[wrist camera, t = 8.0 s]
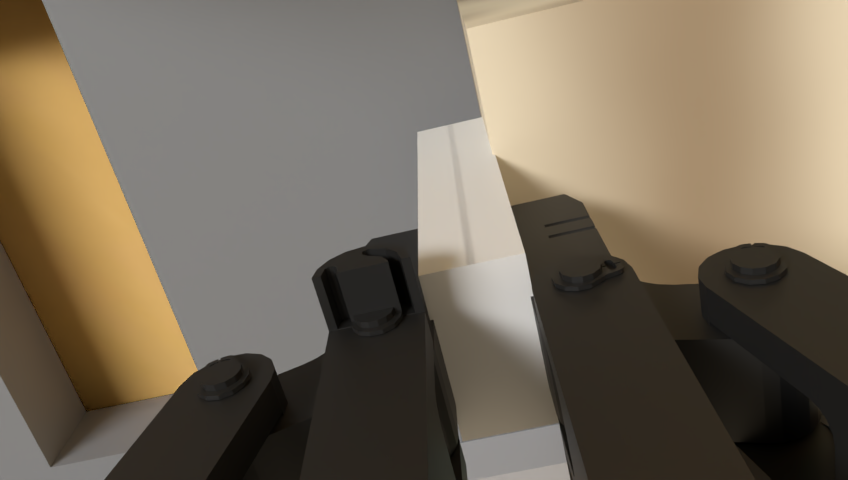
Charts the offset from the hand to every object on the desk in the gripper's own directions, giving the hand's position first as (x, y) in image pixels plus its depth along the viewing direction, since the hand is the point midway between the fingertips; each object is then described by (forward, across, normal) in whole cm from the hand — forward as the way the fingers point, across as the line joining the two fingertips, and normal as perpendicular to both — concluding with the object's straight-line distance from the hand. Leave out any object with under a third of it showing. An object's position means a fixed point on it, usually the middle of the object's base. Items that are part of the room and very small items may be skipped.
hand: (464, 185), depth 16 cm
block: (+2, +4, 0) cm, 4 cm away
